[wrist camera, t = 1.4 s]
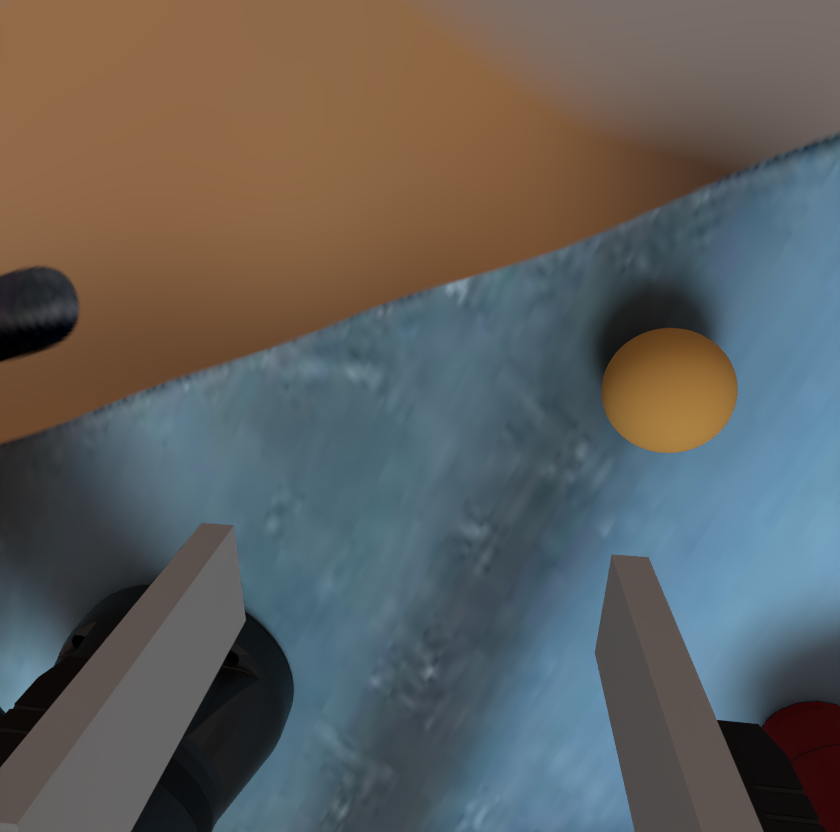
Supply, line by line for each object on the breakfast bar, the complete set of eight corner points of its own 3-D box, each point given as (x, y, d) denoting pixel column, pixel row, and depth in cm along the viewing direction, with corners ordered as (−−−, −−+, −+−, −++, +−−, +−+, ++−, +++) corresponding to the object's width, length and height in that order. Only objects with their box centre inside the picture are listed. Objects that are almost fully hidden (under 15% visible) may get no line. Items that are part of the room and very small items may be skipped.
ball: (585, 420, 29) (606, 470, 24) (600, 313, 27) (625, 344, 22) (698, 426, 29) (742, 479, 24) (721, 317, 27) (775, 350, 22)
